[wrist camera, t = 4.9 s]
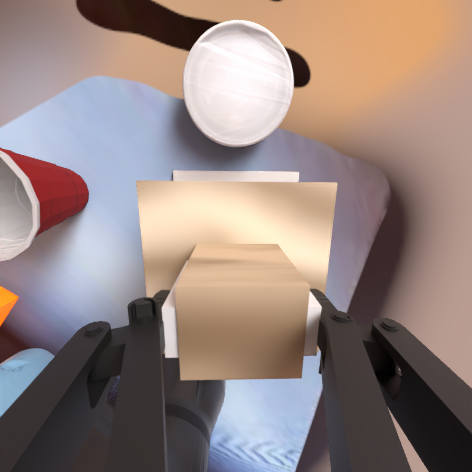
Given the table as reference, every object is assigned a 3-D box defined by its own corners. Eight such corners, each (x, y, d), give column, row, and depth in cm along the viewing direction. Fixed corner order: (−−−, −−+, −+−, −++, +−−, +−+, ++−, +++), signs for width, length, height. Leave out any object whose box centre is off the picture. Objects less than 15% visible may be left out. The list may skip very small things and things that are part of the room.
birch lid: (315, 345, 20) (366, 444, 13) (154, 347, 20) (108, 451, 12) (332, 182, 17) (416, 183, 9) (140, 180, 16) (65, 180, 9)
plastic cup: (31, 232, 31) (-90, 264, 19) (16, 147, 28) (-134, 124, 17) (113, 235, 31) (43, 268, 20) (105, 151, 29) (19, 132, 17)
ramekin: (273, 38, 26) (284, 4, 21) (289, 140, 29) (302, 132, 24) (179, 62, 27) (167, 34, 21) (203, 160, 29) (198, 156, 24)
